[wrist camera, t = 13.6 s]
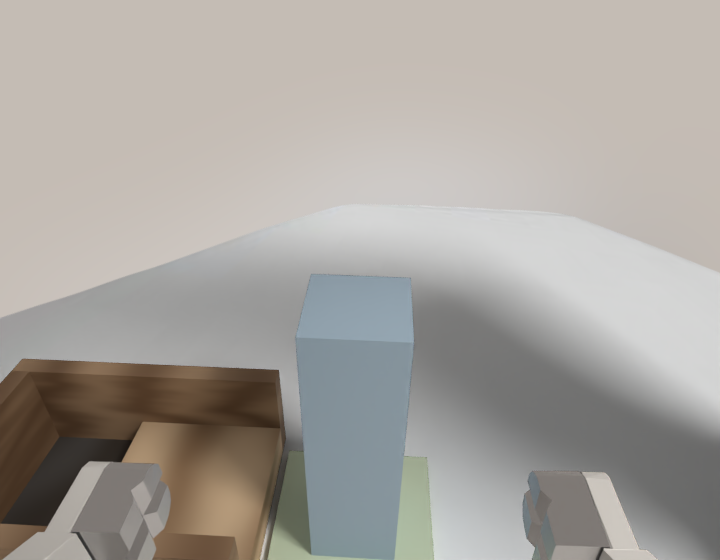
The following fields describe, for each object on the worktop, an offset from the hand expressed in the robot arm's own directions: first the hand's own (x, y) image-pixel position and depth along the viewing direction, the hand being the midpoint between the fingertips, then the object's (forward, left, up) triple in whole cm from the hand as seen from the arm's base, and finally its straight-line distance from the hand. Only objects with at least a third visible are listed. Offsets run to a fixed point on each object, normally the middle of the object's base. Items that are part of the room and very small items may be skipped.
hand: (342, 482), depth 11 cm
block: (+9, -8, -21) cm, 24 cm away
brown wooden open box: (+19, +2, -21) cm, 29 cm away
